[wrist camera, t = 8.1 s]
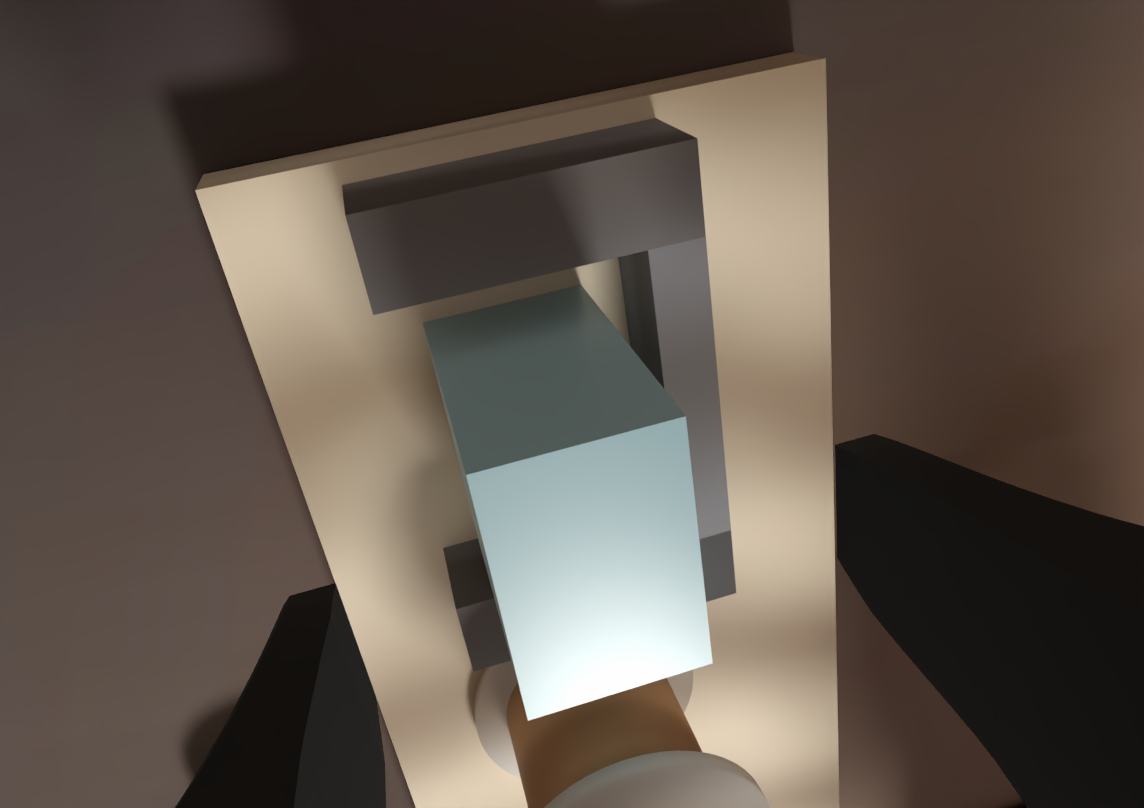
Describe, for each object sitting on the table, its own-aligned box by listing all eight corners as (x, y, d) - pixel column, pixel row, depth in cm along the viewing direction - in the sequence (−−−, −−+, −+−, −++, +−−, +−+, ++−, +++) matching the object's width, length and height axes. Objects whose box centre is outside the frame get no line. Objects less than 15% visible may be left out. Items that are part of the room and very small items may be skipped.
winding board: (822, 891, 29) (931, 1093, 24) (495, 1008, 28) (536, 1250, 23) (794, 51, 17) (1003, 94, 12) (203, 174, 16) (145, 286, 10)
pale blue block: (613, 484, 19) (713, 663, 14) (473, 522, 19) (527, 720, 14) (581, 284, 17) (685, 416, 12) (422, 322, 16) (465, 474, 12)
